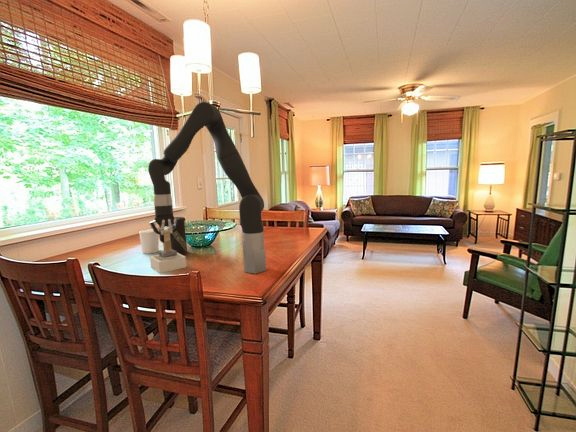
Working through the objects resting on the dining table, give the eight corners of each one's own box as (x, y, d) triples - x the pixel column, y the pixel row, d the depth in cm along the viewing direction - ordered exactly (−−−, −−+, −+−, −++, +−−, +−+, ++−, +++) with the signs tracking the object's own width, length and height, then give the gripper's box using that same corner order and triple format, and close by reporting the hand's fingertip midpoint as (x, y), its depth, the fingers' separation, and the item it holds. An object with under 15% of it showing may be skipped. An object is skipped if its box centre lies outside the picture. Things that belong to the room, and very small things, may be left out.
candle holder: (155, 253, 163) (153, 232, 161) (137, 254, 163) (135, 232, 162) (163, 249, 173) (161, 228, 171) (146, 249, 173) (144, 229, 171)
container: (169, 256, 157) (166, 218, 154) (171, 252, 166) (168, 216, 163) (187, 255, 159) (184, 217, 157) (188, 250, 168) (185, 215, 165)
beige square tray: (186, 267, 139) (185, 256, 138) (159, 273, 131) (158, 262, 130) (176, 261, 148) (175, 251, 147) (150, 267, 140) (149, 256, 139)
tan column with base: (177, 255, 138) (174, 229, 136) (163, 257, 134) (161, 231, 132) (172, 253, 142) (169, 228, 141) (159, 256, 138) (156, 230, 137)
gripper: (149, 206, 128) (153, 245, 130) (181, 203, 137) (184, 240, 139) (144, 205, 133) (147, 243, 136) (175, 202, 142) (178, 238, 145)
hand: (166, 241), depth 138 cm, fingers closed on tan column with base, 2 cm apart
